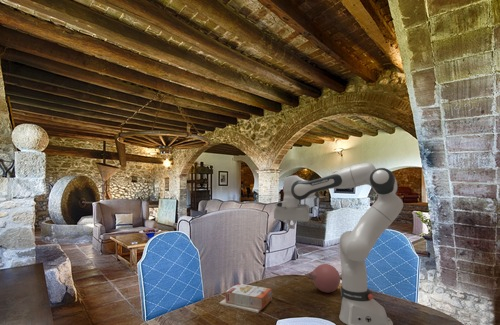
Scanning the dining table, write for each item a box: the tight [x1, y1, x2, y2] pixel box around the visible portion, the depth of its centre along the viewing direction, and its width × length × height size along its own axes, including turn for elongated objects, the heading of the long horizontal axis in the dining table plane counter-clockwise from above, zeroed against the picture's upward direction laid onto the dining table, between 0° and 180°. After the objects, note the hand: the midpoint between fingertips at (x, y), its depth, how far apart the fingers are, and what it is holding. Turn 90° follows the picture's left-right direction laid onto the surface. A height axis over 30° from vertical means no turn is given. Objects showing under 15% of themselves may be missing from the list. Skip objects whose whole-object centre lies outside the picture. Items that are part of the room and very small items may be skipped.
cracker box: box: [225, 282, 273, 310], centre depth 147 cm, size 14×6×21 cm
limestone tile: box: [219, 297, 262, 314], centre depth 148 cm, size 22×18×1 cm
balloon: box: [304, 263, 341, 293], centre depth 162 cm, size 15×20×15 cm
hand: (291, 228), depth 157 cm, fingers closed
